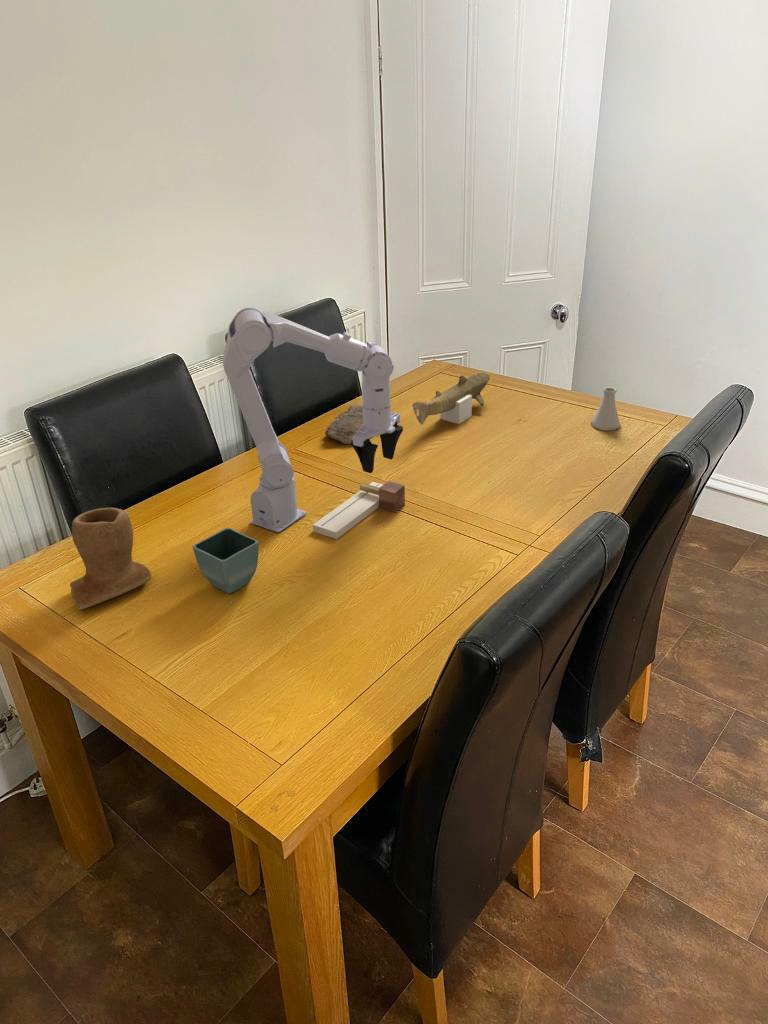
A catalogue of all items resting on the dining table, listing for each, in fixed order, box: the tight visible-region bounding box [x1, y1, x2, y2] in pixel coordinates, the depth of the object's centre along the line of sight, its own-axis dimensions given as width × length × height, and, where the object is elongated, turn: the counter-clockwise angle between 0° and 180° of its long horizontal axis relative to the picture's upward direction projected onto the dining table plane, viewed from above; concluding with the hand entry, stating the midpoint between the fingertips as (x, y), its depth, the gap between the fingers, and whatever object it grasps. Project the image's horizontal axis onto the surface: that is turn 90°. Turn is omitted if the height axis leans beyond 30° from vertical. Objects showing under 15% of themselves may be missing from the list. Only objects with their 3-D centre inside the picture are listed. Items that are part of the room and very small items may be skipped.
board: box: [312, 481, 384, 540], centre depth 173 cm, size 22×6×2 cm, turn 146°
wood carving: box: [412, 372, 491, 425], centre depth 212 cm, size 9×35×11 cm, turn 143°
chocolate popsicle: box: [359, 480, 406, 514], centre depth 175 cm, size 4×10×5 cm, turn 56°
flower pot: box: [191, 527, 260, 594], centre depth 149 cm, size 9×9×9 cm
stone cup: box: [69, 507, 152, 611], centre depth 148 cm, size 15×12×15 cm
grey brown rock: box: [324, 404, 363, 445], centre depth 209 cm, size 14×5×20 cm
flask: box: [590, 386, 621, 432], centre depth 207 cm, size 7×7×10 cm
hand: (378, 464), depth 172 cm, fingers open, 7 cm apart
